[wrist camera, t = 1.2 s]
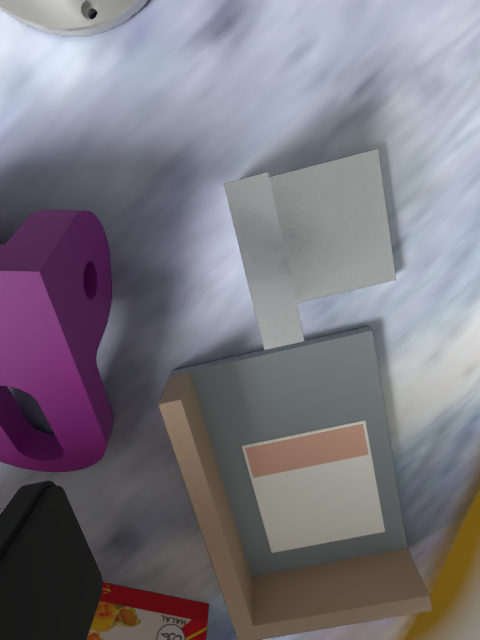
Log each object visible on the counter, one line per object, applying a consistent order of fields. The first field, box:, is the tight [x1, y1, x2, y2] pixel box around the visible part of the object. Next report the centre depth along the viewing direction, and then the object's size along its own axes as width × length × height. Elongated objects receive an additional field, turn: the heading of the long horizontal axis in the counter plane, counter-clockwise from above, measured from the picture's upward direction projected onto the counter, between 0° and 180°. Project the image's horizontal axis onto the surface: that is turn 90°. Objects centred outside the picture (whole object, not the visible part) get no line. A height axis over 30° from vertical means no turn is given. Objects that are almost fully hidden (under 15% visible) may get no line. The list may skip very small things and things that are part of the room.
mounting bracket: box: [0, 210, 114, 472], centre depth 27 cm, size 10×8×18 cm
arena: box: [158, 326, 432, 640], centre depth 29 cm, size 20×14×5 cm
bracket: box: [224, 149, 396, 350], centre depth 22 cm, size 9×8×8 cm
